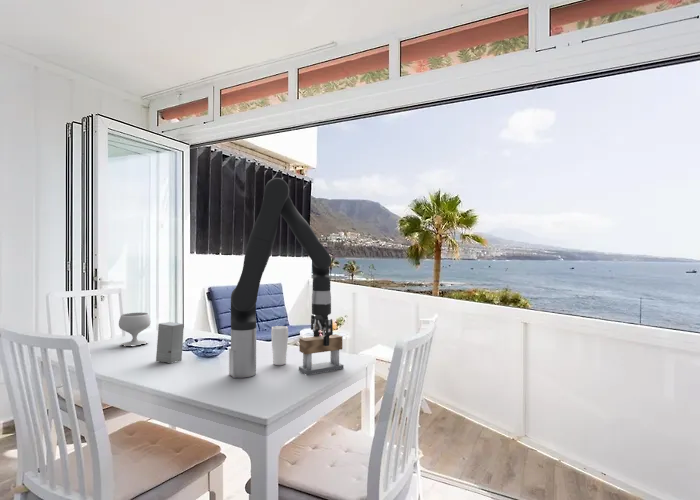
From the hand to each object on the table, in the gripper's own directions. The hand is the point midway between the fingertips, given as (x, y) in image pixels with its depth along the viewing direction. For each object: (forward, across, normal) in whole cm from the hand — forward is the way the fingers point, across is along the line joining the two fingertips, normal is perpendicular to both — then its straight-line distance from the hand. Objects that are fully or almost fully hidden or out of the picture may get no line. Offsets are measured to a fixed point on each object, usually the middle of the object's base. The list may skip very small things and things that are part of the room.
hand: (321, 343), depth 159 cm
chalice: (+10, -86, -60) cm, 105 cm away
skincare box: (+10, -44, -49) cm, 67 cm away
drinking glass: (+10, -16, -11) cm, 22 cm away
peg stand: (+10, 0, 0) cm, 10 cm away
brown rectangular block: (+3, 0, 0) cm, 3 cm away
